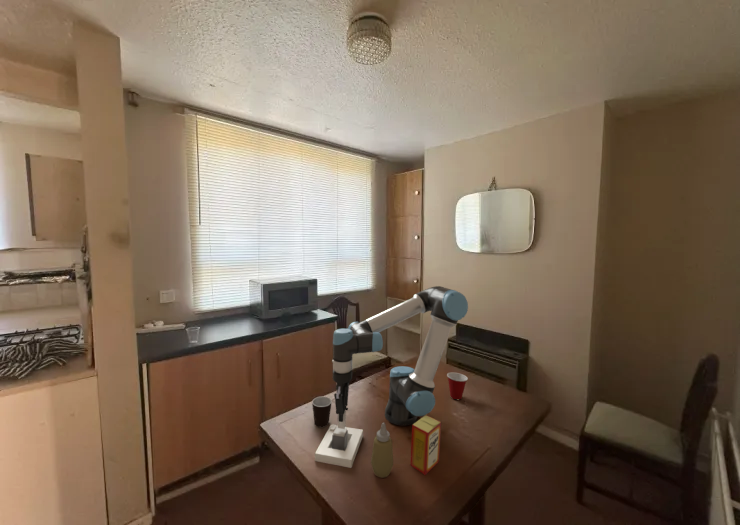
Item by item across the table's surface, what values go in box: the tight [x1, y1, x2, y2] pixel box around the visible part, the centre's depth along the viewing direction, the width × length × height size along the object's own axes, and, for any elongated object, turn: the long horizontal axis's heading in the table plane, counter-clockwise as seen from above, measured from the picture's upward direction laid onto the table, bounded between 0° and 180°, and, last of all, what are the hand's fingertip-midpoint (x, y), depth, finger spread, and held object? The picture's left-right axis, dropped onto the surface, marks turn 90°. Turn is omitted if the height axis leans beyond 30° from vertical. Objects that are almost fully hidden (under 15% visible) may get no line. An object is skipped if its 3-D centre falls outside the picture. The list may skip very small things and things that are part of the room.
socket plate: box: [314, 424, 364, 469], centre depth 119 cm, size 14×18×4 cm
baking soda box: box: [409, 414, 442, 476], centre depth 112 cm, size 10×6×16 cm
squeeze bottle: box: [370, 422, 394, 479], centre depth 107 cm, size 8×8×18 cm
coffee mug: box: [311, 395, 333, 428], centre depth 136 cm, size 12×9×10 cm
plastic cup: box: [446, 372, 468, 400], centre depth 161 cm, size 11×11×12 cm
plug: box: [332, 427, 348, 451], centre depth 119 cm, size 5×4×7 cm
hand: (341, 427), depth 119 cm, fingers closed
